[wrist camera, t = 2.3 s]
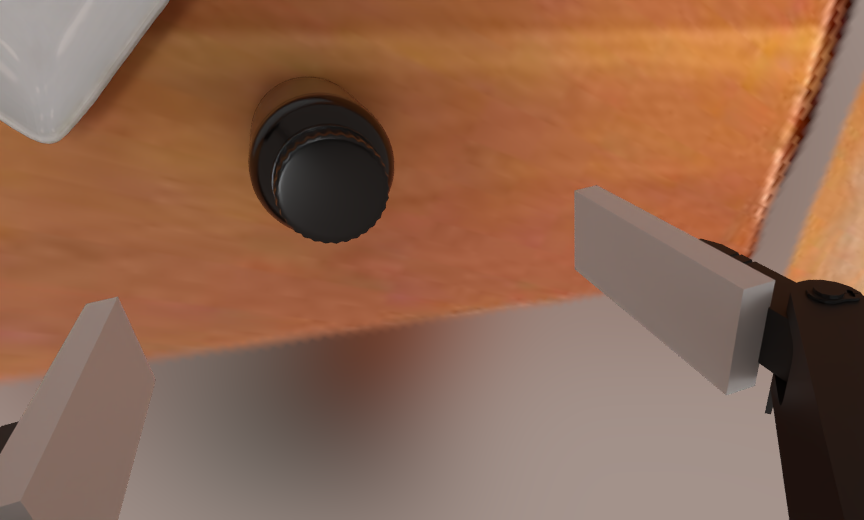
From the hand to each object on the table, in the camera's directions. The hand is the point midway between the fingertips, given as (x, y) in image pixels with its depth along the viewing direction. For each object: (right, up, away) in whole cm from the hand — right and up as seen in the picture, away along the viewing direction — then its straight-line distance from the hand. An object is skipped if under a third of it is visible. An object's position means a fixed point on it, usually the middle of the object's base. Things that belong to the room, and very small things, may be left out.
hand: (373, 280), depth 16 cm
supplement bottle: (-6, +8, +17) cm, 20 cm away
